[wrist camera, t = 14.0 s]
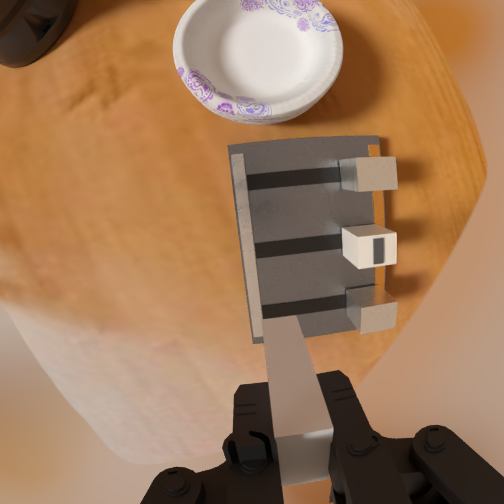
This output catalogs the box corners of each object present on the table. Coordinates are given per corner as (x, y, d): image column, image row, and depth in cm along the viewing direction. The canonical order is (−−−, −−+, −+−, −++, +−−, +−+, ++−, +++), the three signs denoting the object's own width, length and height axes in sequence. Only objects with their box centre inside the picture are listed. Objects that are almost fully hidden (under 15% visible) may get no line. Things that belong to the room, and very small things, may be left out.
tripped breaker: (342, 255, 32) (359, 269, 27) (341, 227, 31) (358, 237, 26) (376, 250, 32) (397, 264, 27) (376, 223, 31) (397, 233, 26)
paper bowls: (178, 125, 30) (158, 111, 23) (198, 10, 27) (187, -26, 19) (319, 139, 31) (340, 129, 23) (328, 23, 27) (346, -9, 20)
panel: (252, 335, 36) (253, 370, 29) (228, 147, 31) (223, 139, 24) (377, 317, 36) (401, 345, 29) (371, 137, 31) (401, 129, 24)
